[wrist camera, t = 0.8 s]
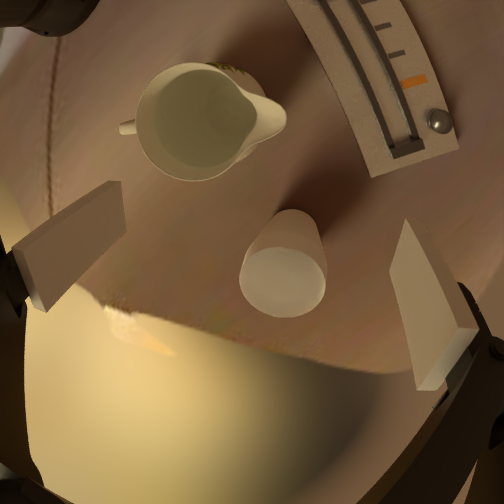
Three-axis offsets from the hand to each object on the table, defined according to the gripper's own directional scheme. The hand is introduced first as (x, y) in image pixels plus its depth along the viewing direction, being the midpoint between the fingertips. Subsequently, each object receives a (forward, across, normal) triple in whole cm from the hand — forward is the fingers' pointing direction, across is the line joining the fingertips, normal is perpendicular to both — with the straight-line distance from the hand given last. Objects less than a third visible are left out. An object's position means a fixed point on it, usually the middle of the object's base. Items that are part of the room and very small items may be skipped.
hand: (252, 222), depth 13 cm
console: (+25, +7, +13) cm, 29 cm away
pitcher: (+25, -9, +2) cm, 27 cm away
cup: (+25, +1, -13) cm, 28 cm away
